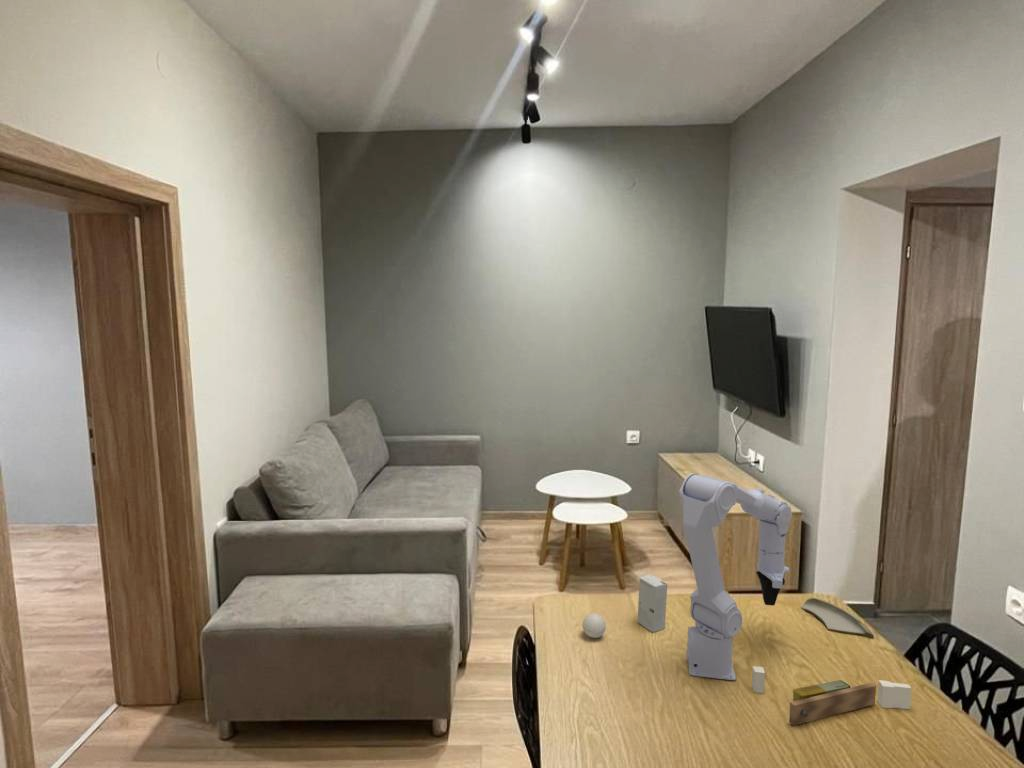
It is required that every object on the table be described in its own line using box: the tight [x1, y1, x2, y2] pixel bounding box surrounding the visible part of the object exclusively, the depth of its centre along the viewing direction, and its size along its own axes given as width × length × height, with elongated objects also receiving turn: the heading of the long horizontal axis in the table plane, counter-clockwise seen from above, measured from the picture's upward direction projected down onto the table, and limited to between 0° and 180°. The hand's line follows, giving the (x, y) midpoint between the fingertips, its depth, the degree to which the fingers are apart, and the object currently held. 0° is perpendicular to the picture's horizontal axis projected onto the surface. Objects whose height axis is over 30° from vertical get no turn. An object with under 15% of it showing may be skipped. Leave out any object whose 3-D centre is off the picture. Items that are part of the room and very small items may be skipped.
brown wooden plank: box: [788, 682, 877, 726], centre depth 112 cm, size 20×2×4 cm, turn 107°
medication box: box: [792, 679, 852, 702], centre depth 115 cm, size 12×3×4 cm, turn 106°
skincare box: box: [637, 573, 668, 633], centre depth 146 cm, size 6×4×12 cm
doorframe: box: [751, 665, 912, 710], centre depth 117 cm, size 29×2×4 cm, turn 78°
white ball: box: [575, 612, 607, 639], centre depth 141 cm, size 8×6×6 cm
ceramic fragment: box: [800, 597, 875, 639], centre depth 146 cm, size 18×7×5 cm, turn 27°
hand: (769, 603), depth 138 cm, fingers closed
